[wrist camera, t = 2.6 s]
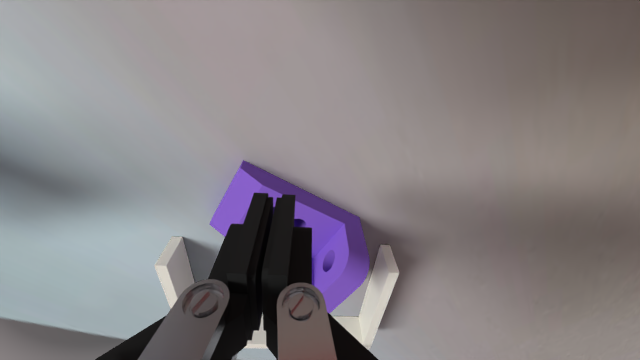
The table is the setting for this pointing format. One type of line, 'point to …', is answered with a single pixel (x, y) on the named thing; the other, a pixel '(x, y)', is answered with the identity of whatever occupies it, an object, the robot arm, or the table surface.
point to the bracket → (310, 211)
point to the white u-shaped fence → (179, 277)
